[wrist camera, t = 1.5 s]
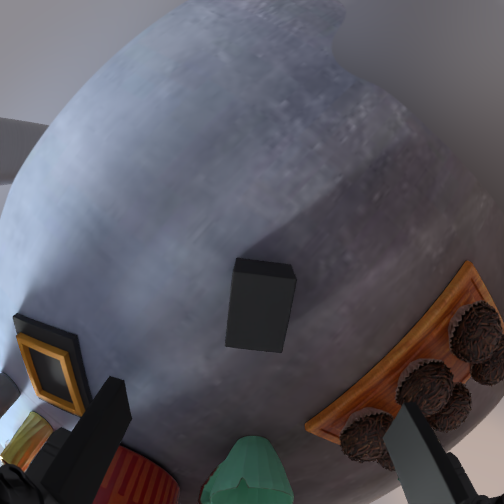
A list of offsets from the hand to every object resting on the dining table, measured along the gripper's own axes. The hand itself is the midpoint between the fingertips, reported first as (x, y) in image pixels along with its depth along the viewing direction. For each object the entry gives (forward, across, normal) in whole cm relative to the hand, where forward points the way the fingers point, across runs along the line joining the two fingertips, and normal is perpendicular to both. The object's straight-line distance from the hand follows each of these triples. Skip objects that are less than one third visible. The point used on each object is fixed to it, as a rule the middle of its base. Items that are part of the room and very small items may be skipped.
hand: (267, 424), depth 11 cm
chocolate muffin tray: (+16, +22, -10) cm, 30 cm away
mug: (+16, 0, -25) cm, 30 cm away
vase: (+16, -38, -36) cm, 55 cm away
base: (+16, -27, -17) cm, 36 cm away
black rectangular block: (+16, 0, 0) cm, 16 cm away
